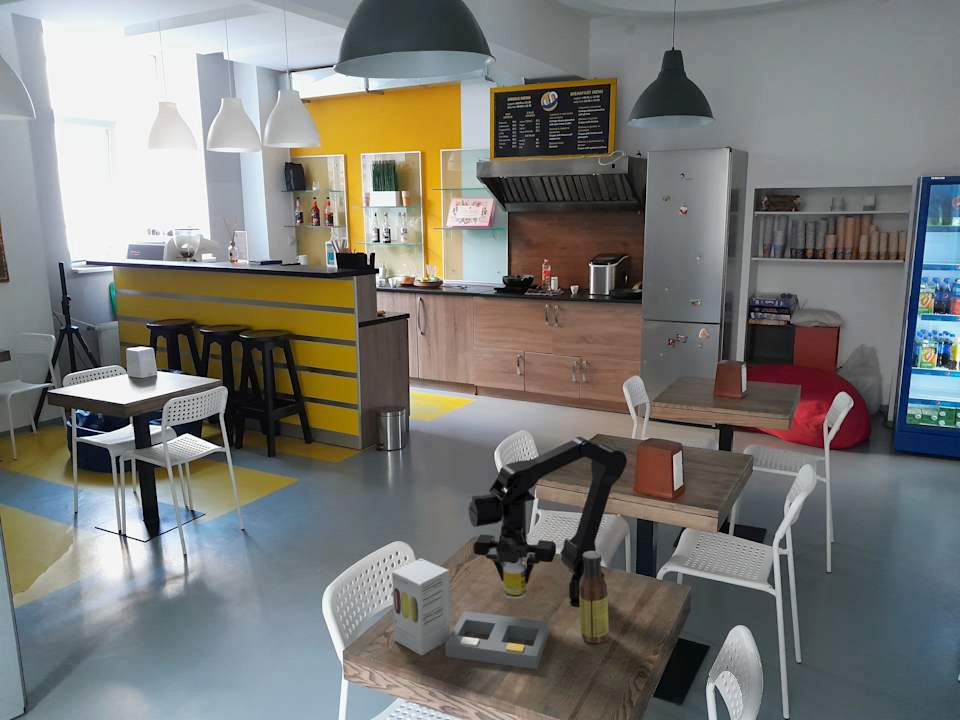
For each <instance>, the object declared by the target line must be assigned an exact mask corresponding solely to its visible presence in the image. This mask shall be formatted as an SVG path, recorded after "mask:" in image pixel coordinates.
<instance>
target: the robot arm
mask: <svg viewBox="0 0 960 720" xmlns="http://www.w3.org/2000/svg"><path fill="white" fill-rule="evenodd" d="M583 458H587V459H589V460H591V464H590V469H591V477H592V478H591V479H592V480H591V482H590V487H589V491H588V493H587V496H586V499H585V503H584V507H583V509H582V513H581V516H580V520H579V523H578V526H577V529H576V532H575V534H574V536H573V537H572V538H570V539H568V538H564V541H563V546H562V549H561V551H560V552H559V554H560V555H561V562H562V564H563V565H564V566H565V567H566V568H567V571H569V572H570V573H571V574H572V575H571V578H570V581H569V590H568V591H569V593H568V595H569V596H568V597H569V599H570V602H569V604H570V606H571V605H573V606H579V607H580V600H579V593H580V588H579V581H580V579H581V577H582V575H583V574H584V561H583V554H584V553H585V552H587V551H596V552H597V548H596V539H597V536H598V533H599V530H600V525H601V523H602V520H603V517H604V513H605V510H606V507H607V504H608V501H609V497H610V494H611V491H612V488H613V486H614V485H615V483H617V482H618V481H619V479H621V477H622V476H623V473H624V471H625V469H626V467H627V463H628V458H627V456H626V454H625V453H624V452H623V451H622V450H620V449H618V448H616V447H613V446H612V445H610V444H608V443H602V444H598V443H595V442H592V441H590V440H589V439H586V438H585V437H582V436H576V437H574V438H572V439H571V440H570V441H568V442H566V443H563V444H561V445H559V446H557V447H555V448H553V449H551V450H548V451H546V452H544V453H542V454H540V455H538V456H536V457H534V458H532V459H528V460H527V459H526V460H518V461H514V462H511V463H507V464H505V465H502V466H501V468H500V469H499V472H498V475H497V478H496V479H495V481H494V482H493V484H492V485H491V487H490V488H489V489H488V492H489V494H484V495H473V496H472V497H471V501H470V503H469V507H468V517H469V521H470V523H471V525H472V527H473V528H476V527H482V526H483V527H484V526H488V525H493V524H498V523H499V522H501V527H500V535H499V537H498V541H497V540H496V536H495V535H489V534H479V536H477V538H476V540H475V541H474V542H473V546H472V553H473V554H474V555H475V556H477V555H478V556H484V557H485V558H486V559H488V560H491V561H492V562H493V563H494V566H495V568H496V570H497V573H498V575H499V578H500V580H501V582H503V566H504V564H505V563H506V562H510V563H517V562H518V560H519V558H522V557H523V558H527V559H526V560H525V562H526V577H525V581H526V585H527V584H528V583H529V581H530V577H531V575H532V571H533V569H534V566H535V565H536V564H540V562H542V563H543V562H544V563H551V562H553V561H554V558H555V555H556V554H557V553H556V552H557V544H556V543H555V542H554V541H553V540H542V539H539V540H538V542H537V544H534V543H533V544H530V543H528V535H527V530H528V529H527V528H528V527H527V526H528V525H527V524H528V519H527V502H530V501H535V500H536V497H535V496H534V495H533V494H532V493H531V492H530V491H529V490H530V489H532V488H534V487H535V486H536V484H537V483H539V481H540V480H541V479H542V478H544V477H545V476H547V475H549V474H552V473H554V472H556V471H558V470H560V469H562V468H564V467H566V466H568V465H570V464H572V463H575V462H576V461H579V460H581V459H583ZM503 488H504V489H505V490H506V491H503ZM527 556H528V557H527ZM601 574H602V576H603V578H604V577H605V573H603V572H602V571H601Z"/></svg>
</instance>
